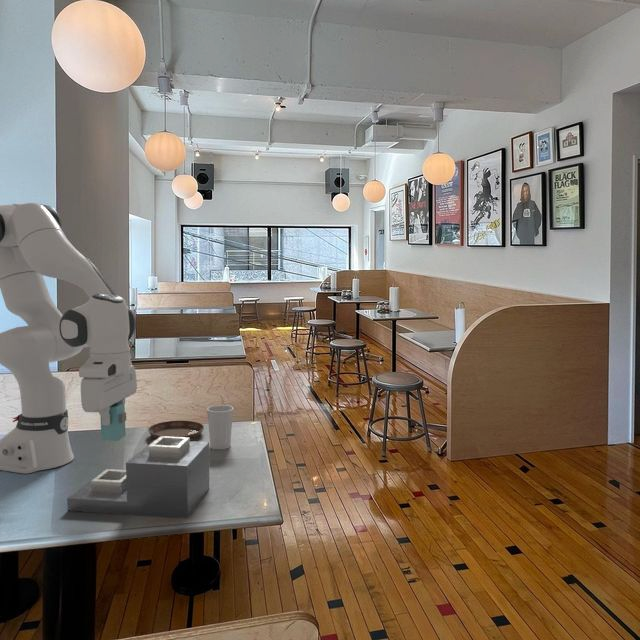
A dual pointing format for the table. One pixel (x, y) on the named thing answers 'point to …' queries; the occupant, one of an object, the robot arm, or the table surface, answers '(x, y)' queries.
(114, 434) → the plug
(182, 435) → the plant saucer
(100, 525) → the table surface
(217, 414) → the cup
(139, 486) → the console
